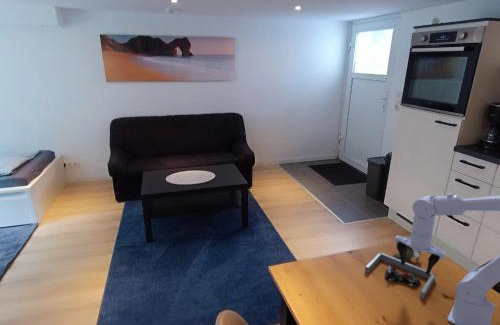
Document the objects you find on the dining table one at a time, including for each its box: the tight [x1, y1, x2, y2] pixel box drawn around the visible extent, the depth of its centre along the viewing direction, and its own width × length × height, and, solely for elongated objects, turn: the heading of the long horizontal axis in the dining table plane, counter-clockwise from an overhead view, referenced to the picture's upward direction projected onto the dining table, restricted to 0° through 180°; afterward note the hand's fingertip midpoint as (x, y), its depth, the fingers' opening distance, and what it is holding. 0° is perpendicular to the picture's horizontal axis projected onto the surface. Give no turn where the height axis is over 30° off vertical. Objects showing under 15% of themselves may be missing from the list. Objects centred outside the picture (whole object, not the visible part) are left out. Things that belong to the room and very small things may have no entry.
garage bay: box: [364, 251, 436, 299], centre depth 111 cm, size 20×13×2 cm, turn 45°
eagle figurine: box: [392, 242, 422, 262], centre depth 121 cm, size 8×7×9 cm
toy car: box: [384, 262, 422, 288], centre depth 109 cm, size 6×12×4 cm, turn 65°
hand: (415, 268), depth 101 cm, fingers open, 7 cm apart
